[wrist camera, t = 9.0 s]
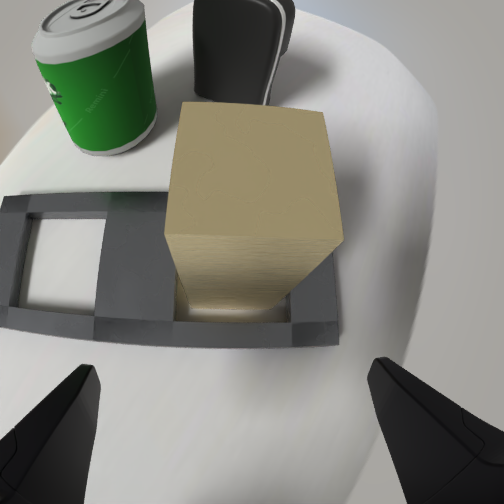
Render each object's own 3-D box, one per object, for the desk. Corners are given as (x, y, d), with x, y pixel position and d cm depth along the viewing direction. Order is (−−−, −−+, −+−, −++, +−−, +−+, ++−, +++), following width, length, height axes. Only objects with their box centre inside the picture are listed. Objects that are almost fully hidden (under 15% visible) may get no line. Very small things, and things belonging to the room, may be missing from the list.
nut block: (270, 309, 20) (344, 240, 9) (191, 308, 20) (163, 233, 8) (268, 236, 22) (322, 112, 11) (194, 234, 21) (182, 101, 10)
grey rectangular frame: (332, 345, 20) (339, 344, 19) (-12, 324, 17) (-22, 322, 16) (320, 207, 23) (326, 199, 22) (10, 203, 20) (4, 196, 19)
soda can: (171, 102, 25) (163, -18, 14) (139, 170, 22) (103, 38, 11) (99, 96, 25) (70, -10, 13) (61, 158, 22) (4, 49, 11)
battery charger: (278, 101, 26) (308, -7, 16) (258, 124, 25) (284, 7, 14) (214, 73, 27) (222, -31, 16) (190, 93, 26) (190, -18, 15)
